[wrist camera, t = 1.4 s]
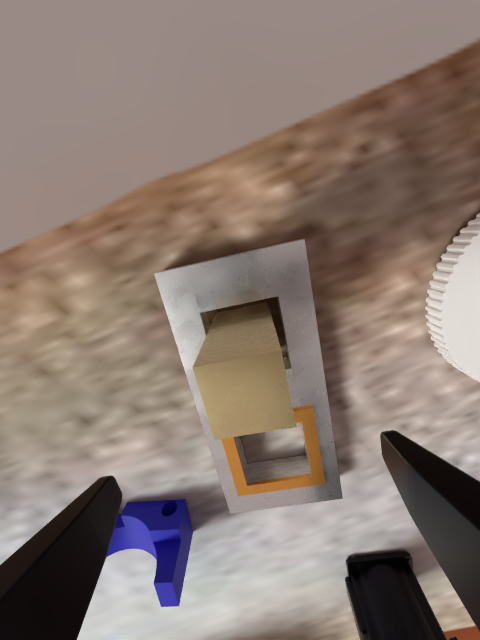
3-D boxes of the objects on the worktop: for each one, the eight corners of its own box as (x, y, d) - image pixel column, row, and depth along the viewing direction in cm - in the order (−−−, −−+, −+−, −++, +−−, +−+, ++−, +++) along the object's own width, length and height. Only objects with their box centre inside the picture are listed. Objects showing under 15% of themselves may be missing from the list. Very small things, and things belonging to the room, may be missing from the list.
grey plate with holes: (298, 238, 18) (305, 239, 16) (335, 478, 25) (343, 501, 23) (163, 270, 19) (152, 274, 17) (231, 493, 26) (230, 517, 23)
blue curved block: (185, 497, 26) (168, 569, 21) (193, 529, 28) (178, 606, 22) (71, 504, 27) (23, 575, 21) (83, 535, 28) (42, 610, 23)
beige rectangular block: (267, 302, 20) (281, 350, 11) (276, 349, 21) (296, 426, 12) (216, 312, 20) (192, 367, 12) (228, 359, 21) (214, 439, 13)
